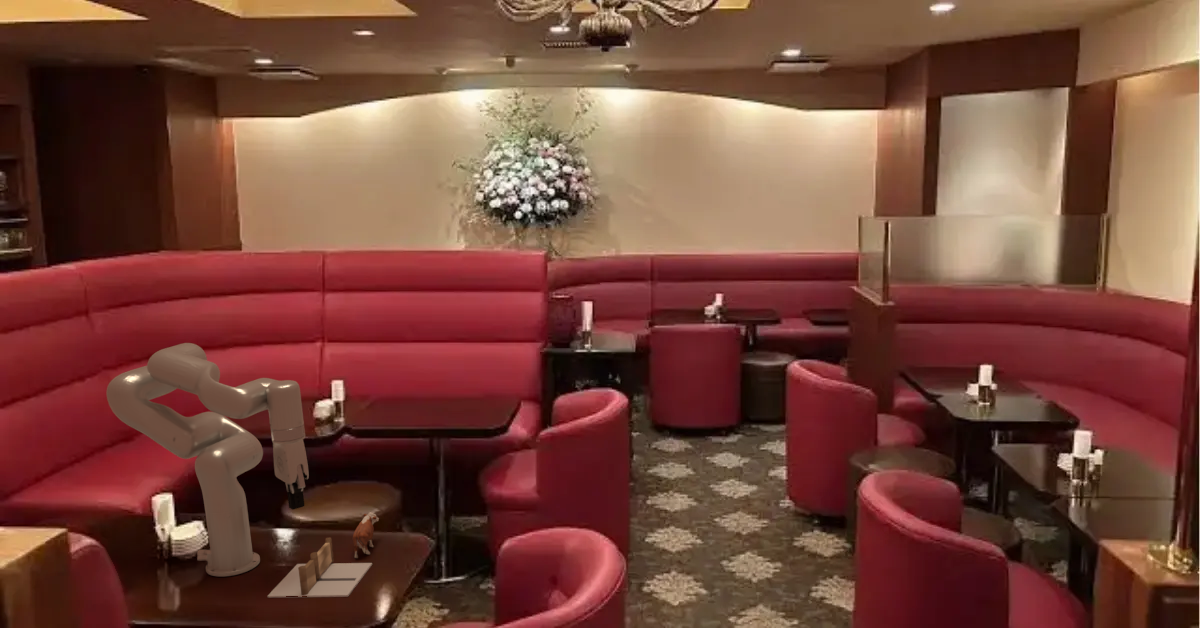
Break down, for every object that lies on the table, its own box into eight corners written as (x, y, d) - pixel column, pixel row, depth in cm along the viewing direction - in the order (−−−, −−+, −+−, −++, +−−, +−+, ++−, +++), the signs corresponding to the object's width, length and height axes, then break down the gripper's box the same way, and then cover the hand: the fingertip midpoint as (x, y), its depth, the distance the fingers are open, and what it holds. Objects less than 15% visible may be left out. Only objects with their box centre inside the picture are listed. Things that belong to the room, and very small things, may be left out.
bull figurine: (383, 538, 248) (380, 509, 246) (366, 560, 234) (362, 529, 233) (367, 539, 248) (364, 509, 247) (348, 561, 235) (345, 529, 233)
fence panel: (318, 579, 223) (315, 554, 222) (311, 579, 223) (309, 555, 222) (335, 560, 234) (332, 536, 233) (328, 560, 234) (326, 536, 233)
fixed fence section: (300, 595, 216) (297, 568, 215) (311, 582, 223) (308, 556, 222) (306, 595, 216) (303, 568, 215) (317, 582, 223) (314, 556, 221)
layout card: (267, 597, 217) (267, 595, 217) (297, 565, 234) (297, 563, 234) (348, 596, 215) (347, 594, 215) (372, 564, 232) (372, 562, 232)
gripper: (260, 431, 226) (269, 504, 229) (284, 443, 215) (294, 519, 218) (291, 423, 231) (299, 495, 234) (316, 435, 220) (324, 510, 223)
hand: (296, 507), depth 226 cm, fingers closed
